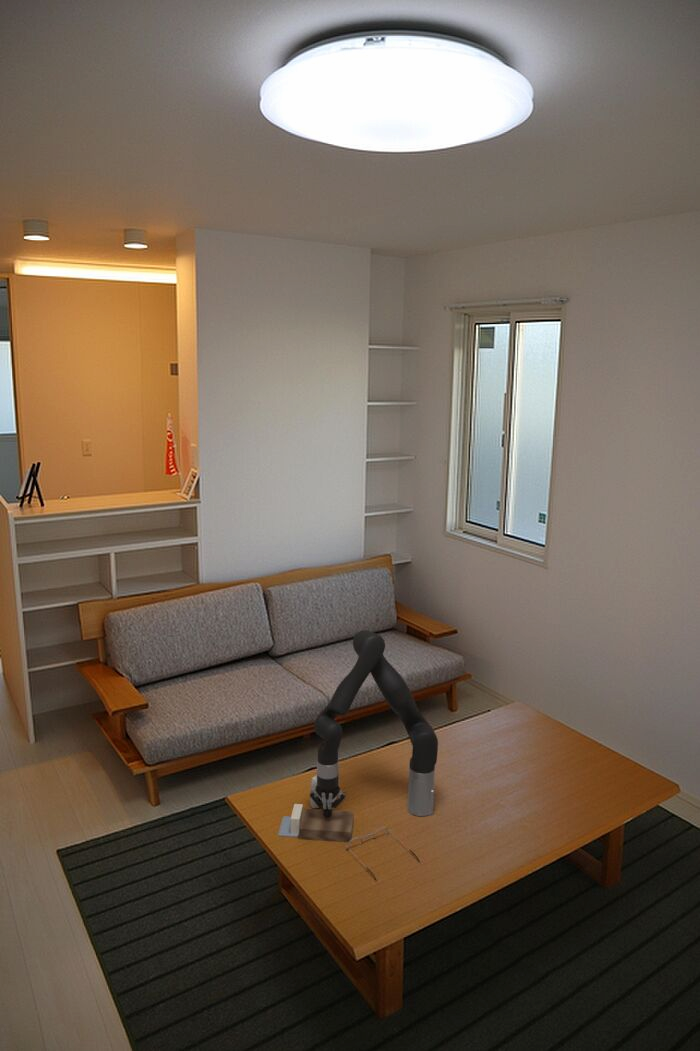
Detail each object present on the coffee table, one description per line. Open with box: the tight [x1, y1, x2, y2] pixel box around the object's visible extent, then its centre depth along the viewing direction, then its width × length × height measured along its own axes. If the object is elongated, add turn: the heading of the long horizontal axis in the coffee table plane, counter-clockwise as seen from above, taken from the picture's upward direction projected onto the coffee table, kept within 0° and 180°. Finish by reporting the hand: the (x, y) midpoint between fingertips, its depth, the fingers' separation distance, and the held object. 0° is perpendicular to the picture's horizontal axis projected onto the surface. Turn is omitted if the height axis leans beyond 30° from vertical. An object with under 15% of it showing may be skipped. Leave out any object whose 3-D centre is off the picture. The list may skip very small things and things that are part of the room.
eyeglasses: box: [345, 826, 421, 882], centre depth 253 cm, size 18×19×4 cm
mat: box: [277, 815, 299, 838], centre depth 268 cm, size 7×11×1 cm, turn 176°
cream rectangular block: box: [290, 803, 304, 836], centre depth 267 cm, size 6×9×3 cm
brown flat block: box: [298, 808, 355, 843], centre depth 266 cm, size 18×12×4 cm, turn 86°
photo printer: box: [309, 774, 337, 809], centre depth 281 cm, size 10×4×12 cm, turn 123°
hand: (327, 816), depth 265 cm, fingers closed
